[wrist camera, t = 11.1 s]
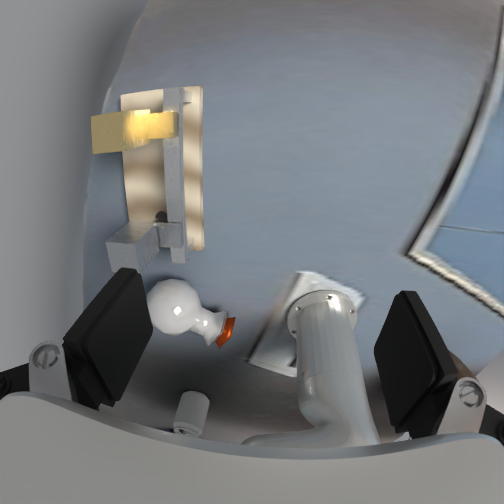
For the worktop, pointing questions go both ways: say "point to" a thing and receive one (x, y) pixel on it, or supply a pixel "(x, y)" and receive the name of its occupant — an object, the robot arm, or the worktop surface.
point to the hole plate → (152, 165)
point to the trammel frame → (174, 232)
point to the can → (191, 414)
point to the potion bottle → (186, 312)
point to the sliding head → (130, 129)
